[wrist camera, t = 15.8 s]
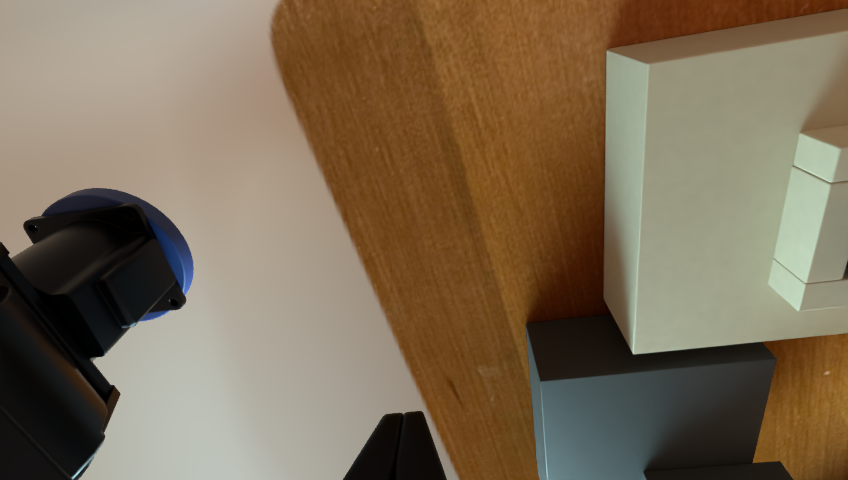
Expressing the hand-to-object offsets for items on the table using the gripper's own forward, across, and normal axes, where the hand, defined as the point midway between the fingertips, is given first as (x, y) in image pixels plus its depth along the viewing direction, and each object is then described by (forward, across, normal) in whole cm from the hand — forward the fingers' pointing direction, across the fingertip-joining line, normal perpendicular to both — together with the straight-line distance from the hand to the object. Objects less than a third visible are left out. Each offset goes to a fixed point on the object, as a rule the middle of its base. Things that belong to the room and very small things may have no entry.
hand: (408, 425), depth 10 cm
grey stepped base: (+13, -9, +14) cm, 21 cm away
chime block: (+13, -13, +1) cm, 18 cm away
